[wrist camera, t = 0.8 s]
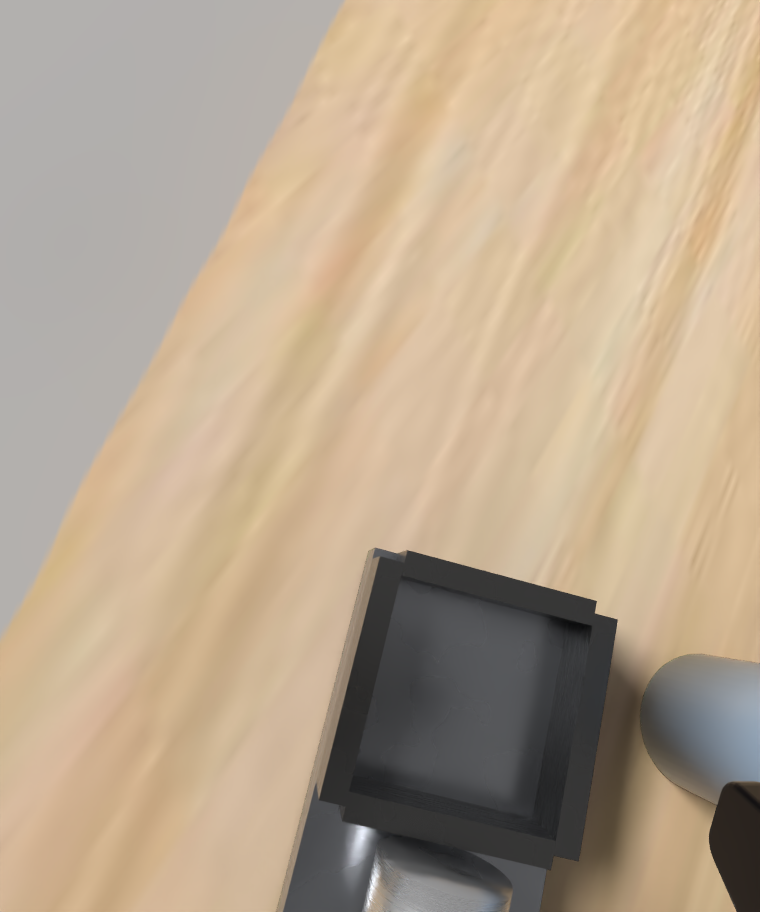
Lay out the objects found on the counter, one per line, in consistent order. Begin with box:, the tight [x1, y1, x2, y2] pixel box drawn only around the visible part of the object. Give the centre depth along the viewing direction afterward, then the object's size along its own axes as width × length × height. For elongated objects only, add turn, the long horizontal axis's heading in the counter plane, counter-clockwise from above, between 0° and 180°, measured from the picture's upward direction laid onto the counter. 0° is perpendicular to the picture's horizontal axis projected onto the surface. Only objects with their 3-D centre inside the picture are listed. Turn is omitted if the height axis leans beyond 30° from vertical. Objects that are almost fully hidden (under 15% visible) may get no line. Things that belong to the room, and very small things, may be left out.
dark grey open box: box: [276, 548, 618, 912], centre depth 20 cm, size 15×8×6 cm, turn 166°
